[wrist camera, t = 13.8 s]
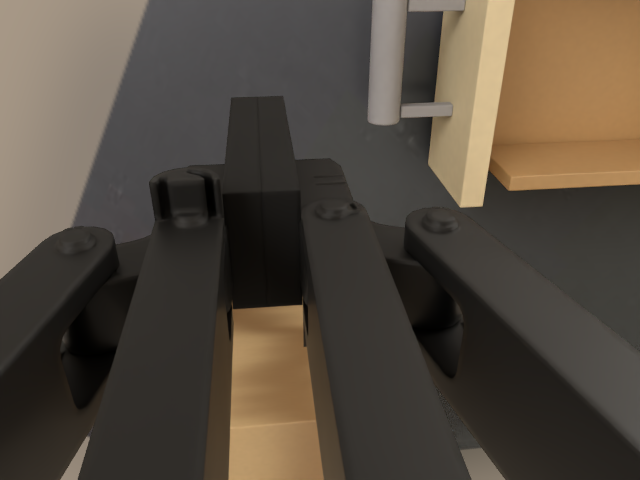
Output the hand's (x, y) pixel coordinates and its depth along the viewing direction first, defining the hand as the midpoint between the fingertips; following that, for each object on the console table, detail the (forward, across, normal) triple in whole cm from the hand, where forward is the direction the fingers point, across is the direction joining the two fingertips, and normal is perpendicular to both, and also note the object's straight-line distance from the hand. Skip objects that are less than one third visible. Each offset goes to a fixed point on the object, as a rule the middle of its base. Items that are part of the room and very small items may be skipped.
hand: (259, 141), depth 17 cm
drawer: (+14, +16, 0) cm, 21 cm away
